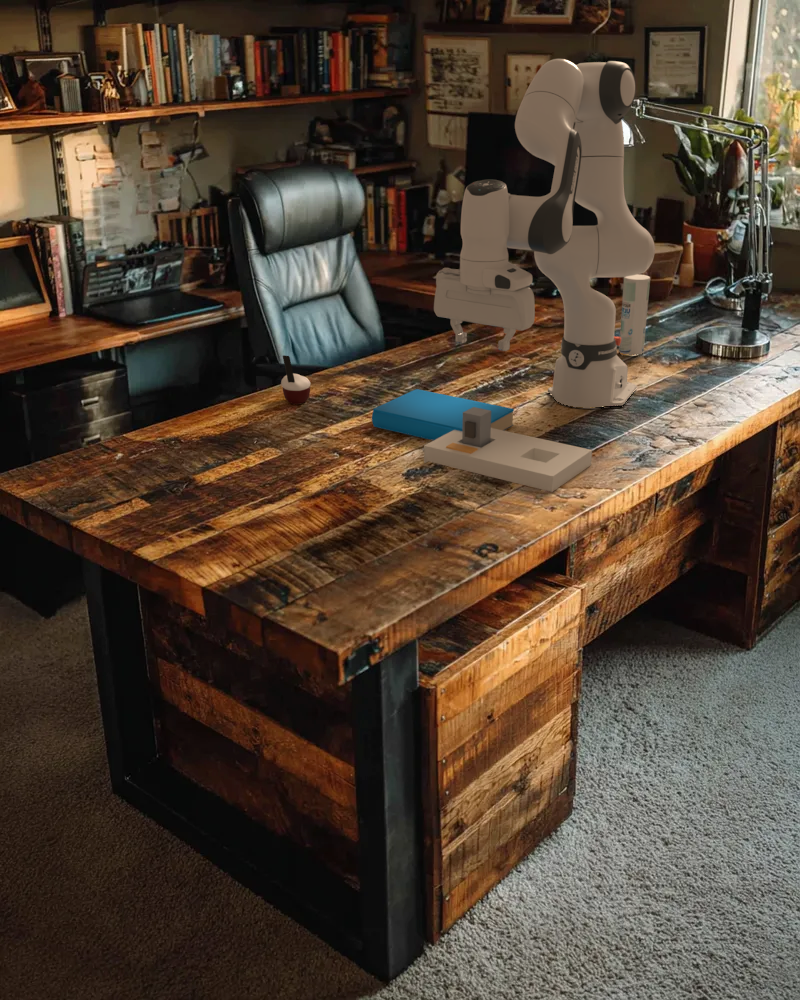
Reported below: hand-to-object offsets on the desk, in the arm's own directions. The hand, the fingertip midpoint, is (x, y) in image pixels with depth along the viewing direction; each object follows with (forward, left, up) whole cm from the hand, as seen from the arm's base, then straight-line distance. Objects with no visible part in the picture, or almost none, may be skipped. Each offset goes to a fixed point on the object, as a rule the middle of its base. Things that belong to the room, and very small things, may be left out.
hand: (482, 346), depth 206 cm
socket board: (+1, +7, -23) cm, 24 cm away
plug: (+1, 0, -22) cm, 22 cm away
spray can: (-86, -6, -23) cm, 90 cm away
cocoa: (-7, -53, -23) cm, 59 cm away
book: (-10, -15, -23) cm, 29 cm away
